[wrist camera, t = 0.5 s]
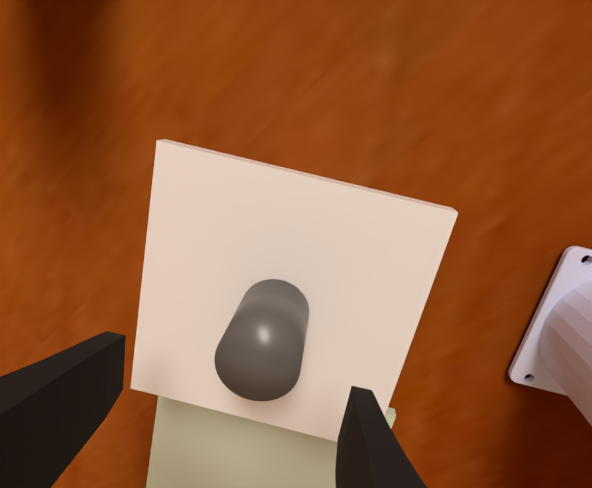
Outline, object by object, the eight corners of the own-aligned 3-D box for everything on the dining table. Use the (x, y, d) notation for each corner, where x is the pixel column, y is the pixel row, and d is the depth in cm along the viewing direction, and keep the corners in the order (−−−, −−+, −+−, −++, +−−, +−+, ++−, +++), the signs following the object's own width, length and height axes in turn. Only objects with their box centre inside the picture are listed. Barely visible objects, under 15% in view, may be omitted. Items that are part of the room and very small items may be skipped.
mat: (394, 408, 25) (396, 415, 24) (336, 566, 29) (336, 575, 29) (167, 350, 25) (163, 356, 24) (145, 515, 30) (141, 523, 29)
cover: (453, 208, 17) (494, 245, 12) (370, 438, 21) (379, 532, 16) (165, 139, 17) (100, 150, 12) (138, 378, 21) (81, 453, 16)
